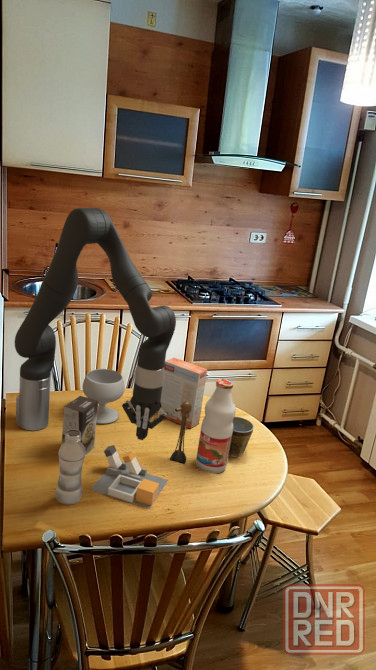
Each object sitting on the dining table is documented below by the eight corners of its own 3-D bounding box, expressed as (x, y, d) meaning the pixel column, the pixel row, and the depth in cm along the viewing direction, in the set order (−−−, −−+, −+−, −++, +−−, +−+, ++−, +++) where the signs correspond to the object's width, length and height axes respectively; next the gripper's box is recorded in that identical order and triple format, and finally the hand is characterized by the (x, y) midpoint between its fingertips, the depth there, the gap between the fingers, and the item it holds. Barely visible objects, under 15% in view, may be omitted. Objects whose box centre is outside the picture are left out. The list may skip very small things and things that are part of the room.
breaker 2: (131, 476, 143) (122, 457, 143) (135, 471, 146) (126, 452, 145) (137, 474, 143) (128, 455, 142) (141, 469, 145) (132, 450, 144)
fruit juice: (232, 468, 157) (248, 384, 148) (210, 478, 151) (225, 391, 142) (210, 453, 164) (224, 372, 154) (189, 462, 157) (201, 378, 148)
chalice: (88, 428, 168) (91, 387, 163) (74, 409, 179) (77, 369, 174) (128, 422, 175) (132, 382, 170) (112, 404, 186) (116, 365, 181)
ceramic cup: (254, 453, 167) (260, 426, 164) (235, 463, 160) (241, 435, 157) (223, 436, 175) (228, 409, 172) (204, 445, 168) (208, 417, 165)
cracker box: (199, 423, 181) (208, 368, 174) (190, 429, 176) (199, 373, 169) (167, 409, 188) (174, 356, 181) (157, 415, 183) (164, 360, 176)
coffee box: (79, 462, 150) (82, 412, 145) (60, 455, 152) (63, 406, 146) (95, 447, 158) (99, 400, 153) (76, 441, 160) (80, 394, 155)
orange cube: (135, 500, 135) (137, 487, 134) (142, 491, 139) (143, 478, 138) (151, 505, 134) (153, 492, 133) (157, 496, 138) (159, 483, 137)
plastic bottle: (57, 492, 136) (60, 425, 129) (83, 493, 137) (88, 427, 130) (52, 508, 130) (56, 438, 123) (80, 509, 131) (85, 441, 124)
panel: (89, 493, 137) (90, 483, 136) (112, 466, 150) (113, 457, 149) (149, 513, 133) (150, 502, 132) (167, 483, 146) (169, 474, 145)
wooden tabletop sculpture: (172, 467, 154) (181, 407, 147) (164, 459, 157) (172, 400, 151) (188, 463, 157) (197, 404, 150) (180, 455, 160) (189, 397, 154)
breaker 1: (111, 470, 145) (103, 451, 144) (116, 465, 147) (108, 446, 146) (117, 468, 144) (109, 449, 143) (122, 463, 147) (114, 444, 146)
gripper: (119, 379, 133) (113, 438, 139) (167, 392, 130) (158, 452, 136) (131, 369, 140) (124, 425, 146) (177, 382, 137) (168, 438, 142)
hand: (141, 438), depth 141 cm, fingers closed
